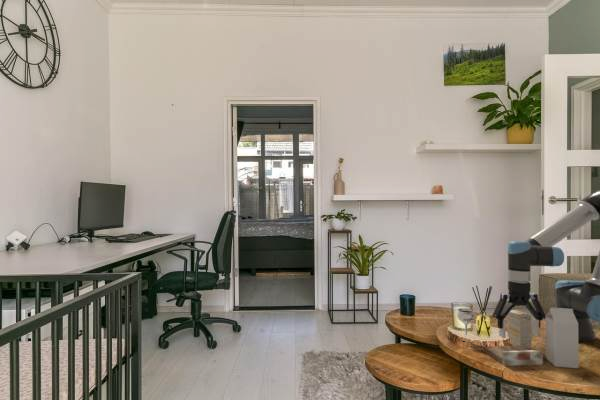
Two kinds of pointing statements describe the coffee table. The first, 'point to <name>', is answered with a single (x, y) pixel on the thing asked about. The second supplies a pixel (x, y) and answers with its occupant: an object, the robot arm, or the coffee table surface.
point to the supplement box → (519, 329)
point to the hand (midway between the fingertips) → (518, 336)
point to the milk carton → (562, 338)
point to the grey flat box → (514, 355)
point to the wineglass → (466, 316)
